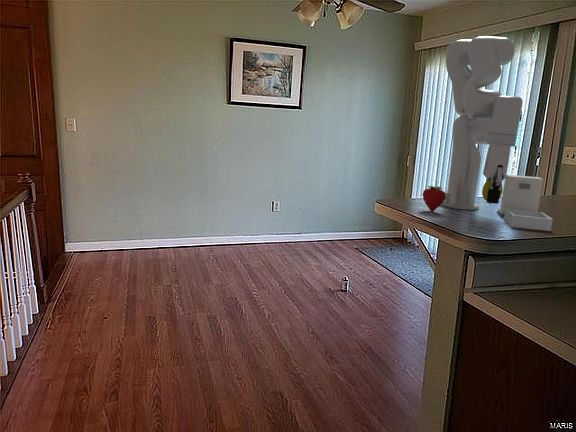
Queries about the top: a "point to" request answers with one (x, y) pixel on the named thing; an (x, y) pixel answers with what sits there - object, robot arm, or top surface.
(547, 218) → the tray
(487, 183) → the lemon
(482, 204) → the top surface
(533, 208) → the block
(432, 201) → the strawberry
